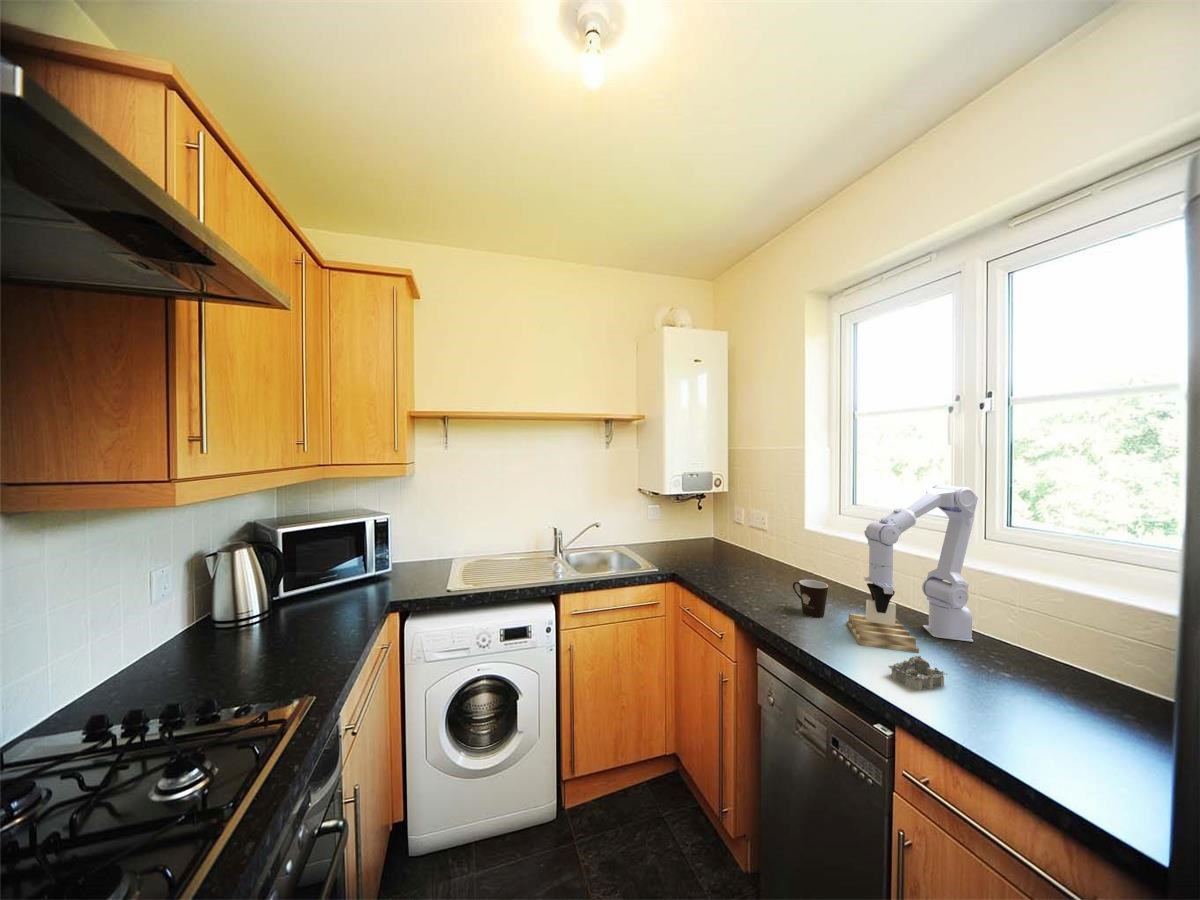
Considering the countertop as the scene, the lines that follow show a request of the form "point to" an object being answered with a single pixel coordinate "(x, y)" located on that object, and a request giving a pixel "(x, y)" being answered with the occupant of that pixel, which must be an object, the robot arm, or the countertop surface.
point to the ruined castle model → (909, 673)
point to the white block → (880, 617)
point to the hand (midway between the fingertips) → (880, 611)
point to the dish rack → (881, 634)
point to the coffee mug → (812, 597)
